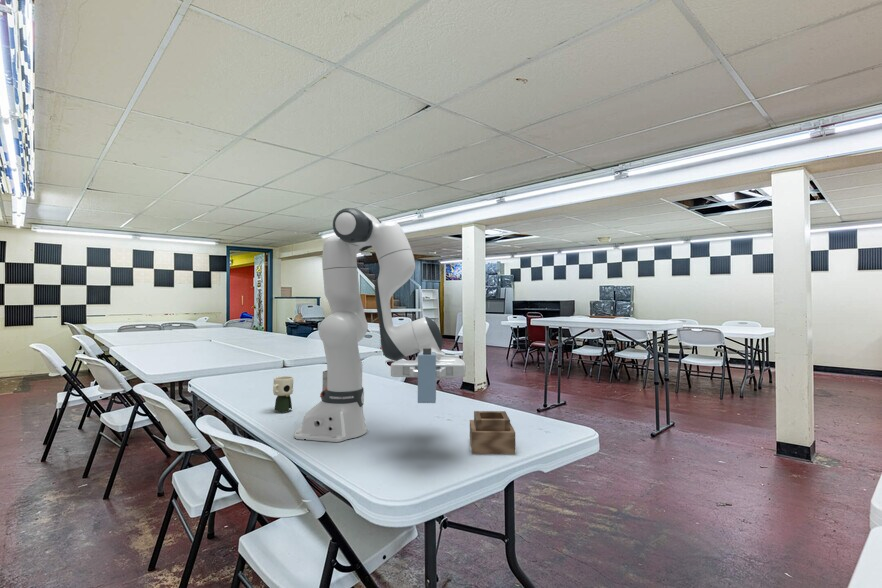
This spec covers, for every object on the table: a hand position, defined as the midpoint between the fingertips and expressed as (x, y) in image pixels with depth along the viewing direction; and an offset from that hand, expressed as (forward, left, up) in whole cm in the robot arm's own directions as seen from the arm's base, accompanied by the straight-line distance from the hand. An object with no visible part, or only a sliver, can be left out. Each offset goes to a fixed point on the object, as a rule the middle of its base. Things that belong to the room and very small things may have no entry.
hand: (426, 374), depth 105 cm
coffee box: (-38, +53, -24) cm, 69 cm away
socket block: (+18, +16, -24) cm, 34 cm away
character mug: (-58, +53, -24) cm, 82 cm away
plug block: (0, +1, -7) cm, 7 cm away
